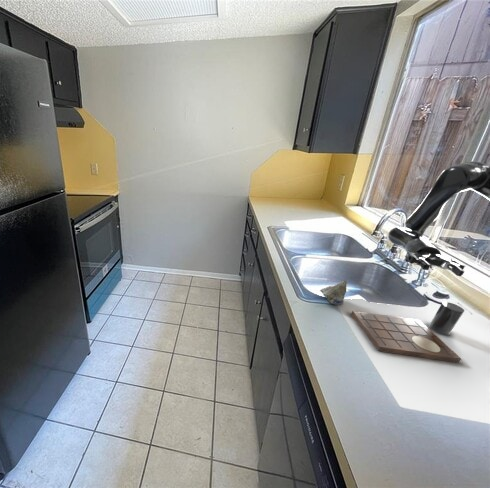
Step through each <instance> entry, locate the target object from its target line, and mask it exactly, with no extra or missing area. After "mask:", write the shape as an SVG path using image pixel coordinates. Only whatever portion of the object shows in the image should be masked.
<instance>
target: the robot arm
mask: <svg viewBox="0 0 490 488" xmlns="http://www.w3.org/2000/svg"><path fill="white" fill-rule="evenodd" d="M469 190H471V191H474V192H476V193H477V194H479V195H481V196H483V197H484V198H486V199H487V200H489V201H490V165H488V164H487V163H484V162H481V161H476V160H475V161H473V160H471V161H465V162H463V163H459V164H455V165H452V166H449V167H447V168H446V169H444V170H443V171H442V172H441V173H440V175H439V176H438V177H437V179H436V181H435V182H434V184H433V186H431V188H430V190H429V192H428V194H427V195H426V196H425V198H424V199H423V201H422V202H421V204H419V206H418V207H416V209H415V210H414V211H413V213H412V214H411V215H409V216H408V218H407V219H406V220H405V222H404V225H405V227H406V228H405V227H401V226H400V227H399V226H397V227H393V228H392V229H390V230H389V232H388V235H387V236H388V237H387V238H388V241H390V243H391V244H393V245H395V246H397V247H399V248H401V249H403V250H404V251H405V252H406V253H405V255H404V257H405V259H406V260H407V262H408V263H409V264H416V266H419V267H421V268H422V269H423V270H424V271H429V269H430V267H431V266H433V267H437V268H440V269H442V270H448V271H450V272H451V273H453V274H454V275H456V276H457V277H462V276H463V275H464V274H465V270H464V269H465V267H466V265H465V264H464V263H462V262H461V261H459V260H457V259H456V258H453V257H452V258H451V259H449V258H446V257H443V256H442V253H441V251H440V250H439V249H438V248H437V247H436V246H435V245H434V244H432V243H430V242H429V241H427V240H425V239H424V238H423V236H424V233H426V230H427V229H428V228H429V227H430V226H431V225H432V224H433V223H434V222H435V221H436V220H437V219H438V218H439V217H440V215H441V213H442V210H443V208H444V206H445V205H446V203H447V202H448V201H450V200H451V199H452V198H453V197H455V196H456V195H457V194H459V193H461V192H465V191H469Z"/></svg>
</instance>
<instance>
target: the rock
mask: <svg viewBox="0 0 490 488" xmlns="http://www.w3.org/2000/svg"><path fill="white" fill-rule="evenodd" d="M347 283H348V280H347V279H345V280H342V281H341V282H339V283H337V284H334V285H329V286H326V287H324V288H321V289H320V290H319V291H320V292H321V293H322V295H323V297H324V298H325V299H326V300H327V301H328V303H330V304H332V305H343V304H344V300H345V296H346V293H347Z"/></svg>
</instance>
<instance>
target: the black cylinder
mask: <svg viewBox="0 0 490 488" xmlns="http://www.w3.org/2000/svg"><path fill="white" fill-rule="evenodd" d="M464 313H465V309H464V308H463V307H462V306H460V305H457V304H455V303H453V302H448V301H443V302H441V304H440V305H439V308H438V309H437V311H436V312H435V314H434V316H433V318H432V319H431V321H430V323H429V325H428V328H429V329H430V330H431V331H432V332H435V333H437V334H440V335H443V336H449V335H450V334H451V333H452V332H453V330H454V328H455V327H456V325H457V323H458V322H459V320H460V319H461V318H462V316H463V314H464Z"/></svg>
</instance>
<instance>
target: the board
mask: <svg viewBox="0 0 490 488" xmlns="http://www.w3.org/2000/svg"><path fill="white" fill-rule="evenodd" d="M350 315H351V317H352V318H353V319H354V321H356V323H357V325H358V326H359V328H361V330H362V332H364V334H365V335H366V337H367V338H368V339H369V341H370V342H371V343H372V345H373V346H374V347H375V349H376V350H377V351H378V352H385V353H391V354H397V355H404V356H405V355H406V356H411V357H416V358H417V357H418V358H425V359H431V360H439V361H445V362H451V363H458V364H459V363H460V362H461V360H462V358H461V357H460V356H459V354H457V353H456V352H455V351H454V350H452V348H451V347H449V345H447V344H446V343H445V342H444V341H443V340H442V339H441V338H440V337H439V336H437V335H436V334H435V333H434V331H433V330H432V329H431V328H430V327H429V326H428V327H427V325H425V324H424V322H423V321H421V320H420V319H418V318H410V317H402V316H395V315H388V314H380V313H372V312H364V311H356V310H351V313H350Z"/></svg>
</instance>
